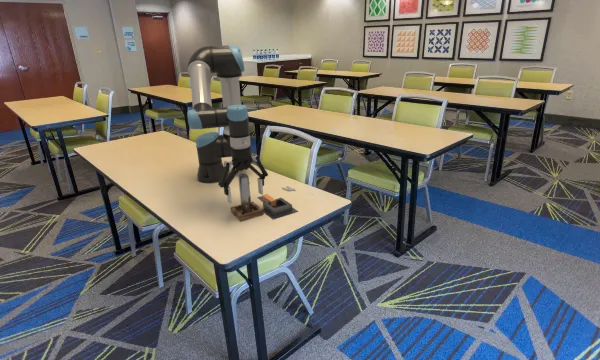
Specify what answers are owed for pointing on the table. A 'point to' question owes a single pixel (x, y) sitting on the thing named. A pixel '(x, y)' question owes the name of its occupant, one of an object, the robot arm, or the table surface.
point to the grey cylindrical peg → (245, 193)
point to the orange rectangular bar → (269, 199)
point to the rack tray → (242, 217)
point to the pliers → (289, 189)
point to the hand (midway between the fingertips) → (245, 197)
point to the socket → (277, 208)
